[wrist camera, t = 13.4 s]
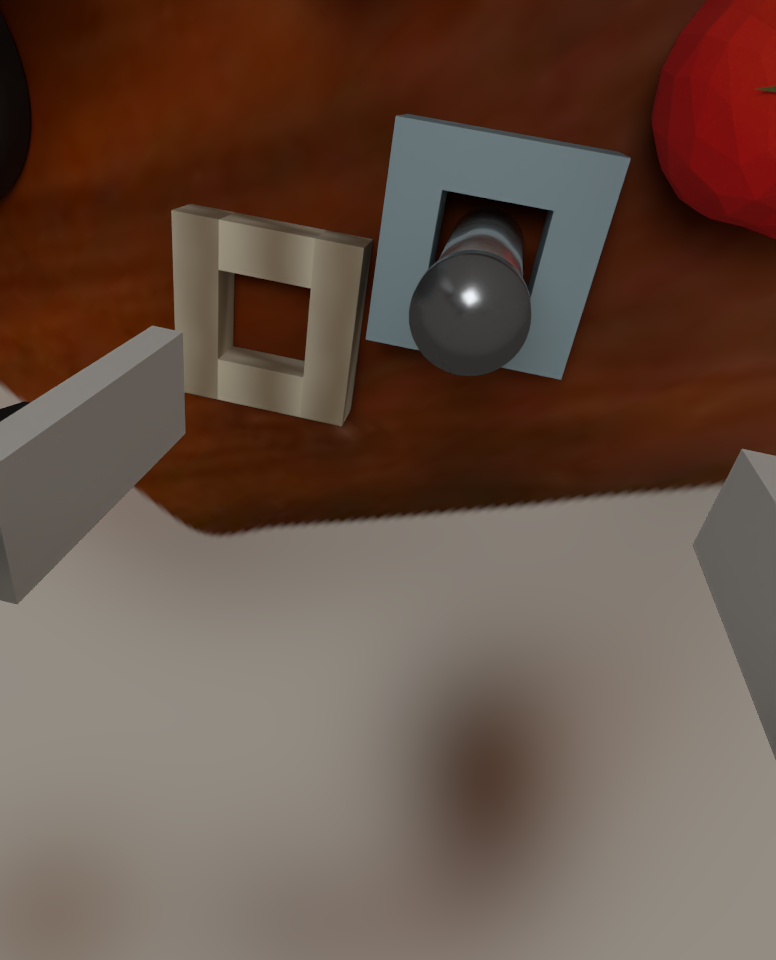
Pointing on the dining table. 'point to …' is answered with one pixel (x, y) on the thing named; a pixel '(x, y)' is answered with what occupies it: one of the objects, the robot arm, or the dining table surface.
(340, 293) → the beige square frame
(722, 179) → the tomato
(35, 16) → the dining table surface
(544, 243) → the socket
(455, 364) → the pin
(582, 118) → the dining table surface
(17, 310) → the dining table surface
